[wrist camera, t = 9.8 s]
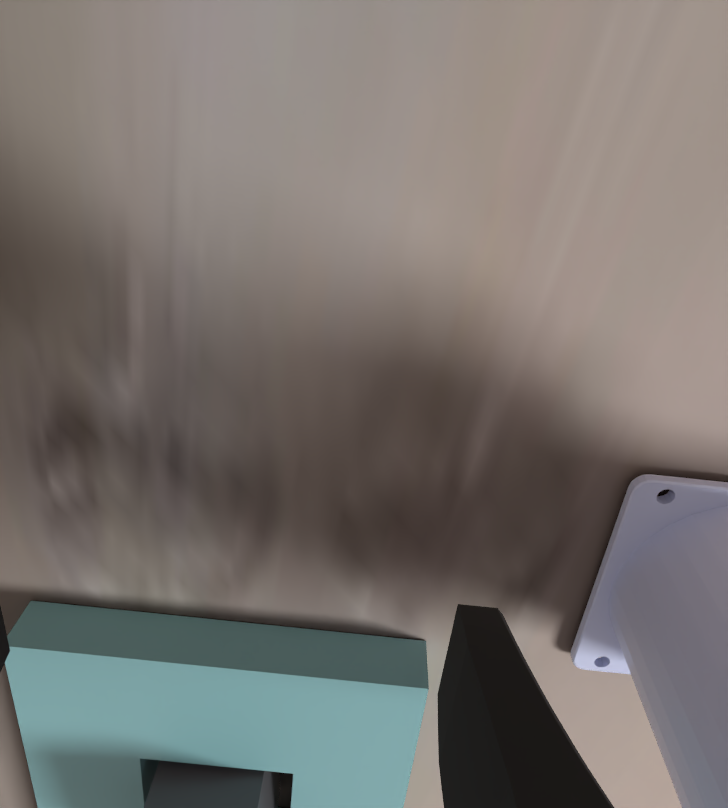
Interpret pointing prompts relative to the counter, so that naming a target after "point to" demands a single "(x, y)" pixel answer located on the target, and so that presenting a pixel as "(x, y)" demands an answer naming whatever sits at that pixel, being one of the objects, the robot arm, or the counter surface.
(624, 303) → the counter surface
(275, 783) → the plug
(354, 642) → the socket plate
